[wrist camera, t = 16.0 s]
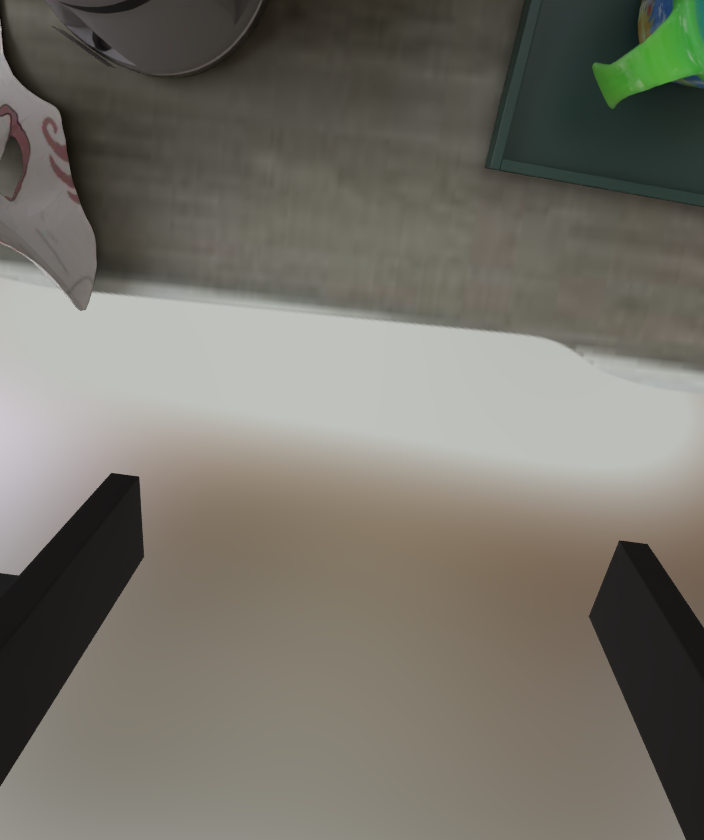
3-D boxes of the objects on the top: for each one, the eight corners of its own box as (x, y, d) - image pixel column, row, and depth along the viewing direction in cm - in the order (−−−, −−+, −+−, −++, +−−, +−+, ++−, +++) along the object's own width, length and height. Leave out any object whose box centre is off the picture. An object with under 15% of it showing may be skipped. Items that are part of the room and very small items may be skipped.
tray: (484, 167, 38) (489, 168, 36) (585, -253, 29) (600, -283, 27) (774, 219, 38) (795, 223, 36) (962, -182, 29) (1004, -207, 27)
